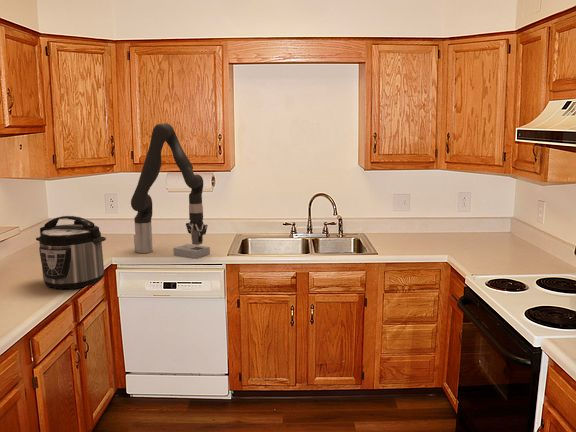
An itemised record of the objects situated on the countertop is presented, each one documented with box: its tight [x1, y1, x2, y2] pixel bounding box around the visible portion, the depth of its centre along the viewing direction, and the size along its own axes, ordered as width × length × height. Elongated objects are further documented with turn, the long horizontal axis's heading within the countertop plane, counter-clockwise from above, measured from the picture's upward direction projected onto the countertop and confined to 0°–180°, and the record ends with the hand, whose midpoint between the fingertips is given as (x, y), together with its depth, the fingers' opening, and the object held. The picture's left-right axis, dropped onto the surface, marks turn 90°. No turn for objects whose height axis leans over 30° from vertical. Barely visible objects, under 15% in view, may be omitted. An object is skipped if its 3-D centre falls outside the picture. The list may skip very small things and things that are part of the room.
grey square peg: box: [191, 229, 204, 246], centre depth 311 cm, size 4×4×8 cm
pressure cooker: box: [35, 215, 107, 290], centre depth 263 cm, size 30×28×32 cm
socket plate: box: [173, 243, 211, 260], centre depth 315 cm, size 16×12×4 cm
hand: (197, 241), depth 312 cm, fingers closed on grey square peg, 4 cm apart
